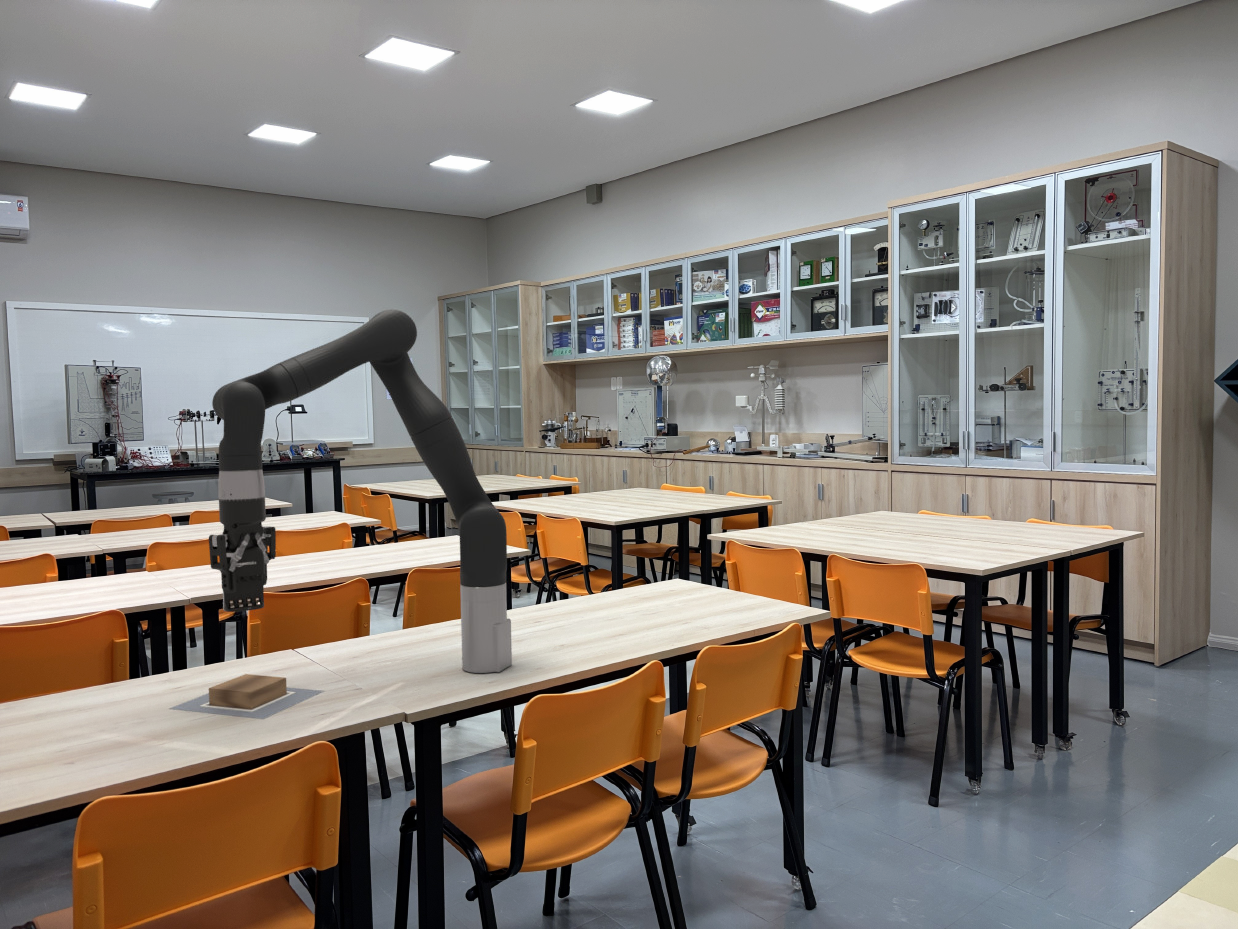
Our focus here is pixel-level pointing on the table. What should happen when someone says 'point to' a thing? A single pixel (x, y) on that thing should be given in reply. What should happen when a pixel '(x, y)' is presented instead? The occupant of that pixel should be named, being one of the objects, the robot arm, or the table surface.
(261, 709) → the board
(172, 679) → the table surface
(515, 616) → the table surface
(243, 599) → the battery charger
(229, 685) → the base block
